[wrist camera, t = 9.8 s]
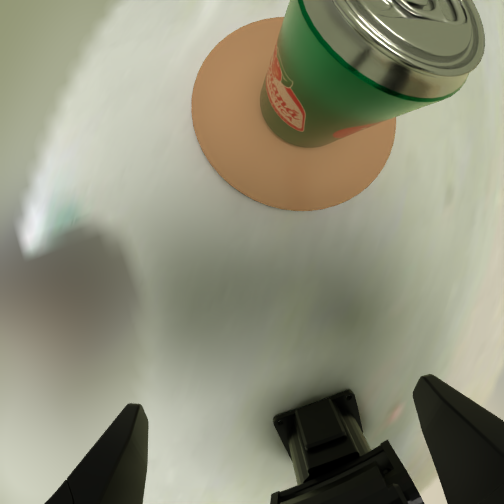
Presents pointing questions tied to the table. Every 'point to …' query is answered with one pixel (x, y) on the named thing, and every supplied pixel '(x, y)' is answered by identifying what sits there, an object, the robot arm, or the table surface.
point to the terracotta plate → (266, 141)
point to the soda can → (365, 64)
